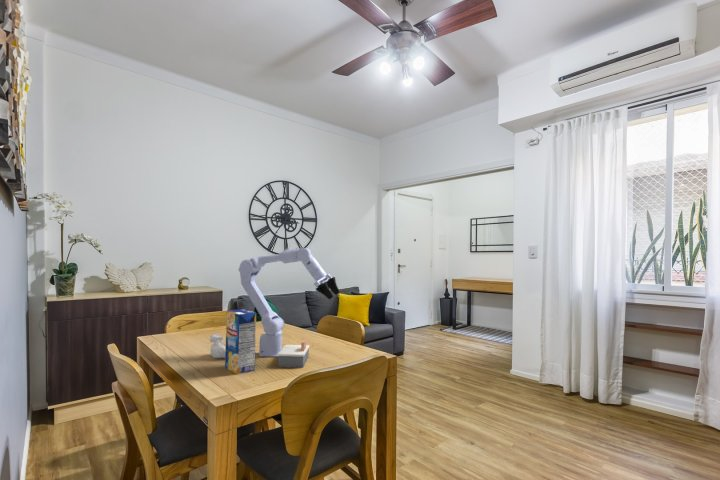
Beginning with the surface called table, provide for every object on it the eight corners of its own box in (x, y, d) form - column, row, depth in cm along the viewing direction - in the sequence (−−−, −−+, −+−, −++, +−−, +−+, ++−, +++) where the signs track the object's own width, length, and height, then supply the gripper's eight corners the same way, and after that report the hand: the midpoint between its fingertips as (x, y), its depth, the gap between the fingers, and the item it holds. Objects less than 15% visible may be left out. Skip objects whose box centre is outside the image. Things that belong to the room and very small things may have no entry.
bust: (213, 359, 158) (197, 341, 153) (227, 346, 162) (212, 328, 157) (223, 366, 149) (206, 347, 144) (237, 352, 153) (222, 333, 148)
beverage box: (237, 374, 133) (239, 314, 133) (224, 367, 141) (226, 310, 141) (254, 370, 137) (256, 312, 138) (241, 363, 145) (242, 308, 146)
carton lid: (277, 356, 142) (277, 345, 142) (285, 346, 156) (285, 336, 156) (303, 356, 142) (303, 345, 142) (309, 347, 156) (309, 337, 156)
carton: (277, 367, 142) (277, 356, 142) (285, 356, 156) (285, 347, 156) (302, 367, 142) (303, 357, 142) (308, 357, 156) (308, 347, 156)
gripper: (315, 268, 149) (335, 294, 148) (329, 262, 163) (347, 286, 162) (303, 278, 151) (323, 304, 150) (318, 271, 165) (335, 295, 164)
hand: (334, 295), depth 156 cm, fingers open, 7 cm apart
